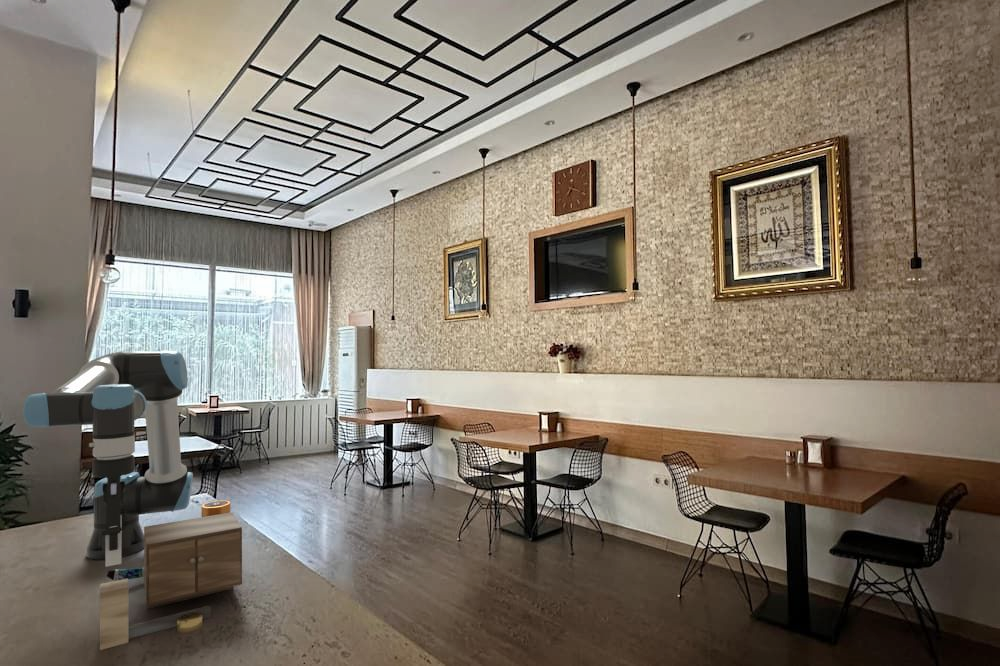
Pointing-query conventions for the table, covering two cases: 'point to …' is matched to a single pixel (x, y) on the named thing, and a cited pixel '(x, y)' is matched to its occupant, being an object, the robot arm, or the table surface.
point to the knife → (125, 573)
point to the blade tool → (116, 616)
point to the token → (189, 623)
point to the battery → (215, 508)
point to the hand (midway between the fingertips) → (113, 554)
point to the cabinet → (191, 558)
